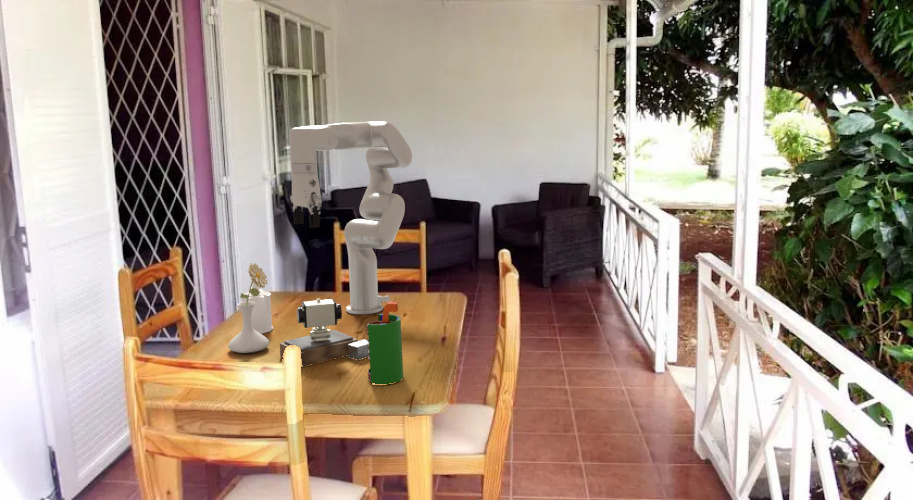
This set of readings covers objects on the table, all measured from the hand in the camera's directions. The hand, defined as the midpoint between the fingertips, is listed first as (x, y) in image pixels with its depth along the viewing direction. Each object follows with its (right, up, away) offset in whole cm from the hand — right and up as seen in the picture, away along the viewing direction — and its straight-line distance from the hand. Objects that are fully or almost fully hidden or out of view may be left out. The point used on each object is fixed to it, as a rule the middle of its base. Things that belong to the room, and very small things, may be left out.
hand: (306, 225), depth 222 cm
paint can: (-17, -33, +7) cm, 38 cm away
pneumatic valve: (+8, -33, -19) cm, 38 cm away
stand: (+7, -37, -17) cm, 41 cm away
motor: (+27, -40, -36) cm, 61 cm away
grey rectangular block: (+19, -37, -19) cm, 46 cm away
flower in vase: (-14, -36, -11) cm, 40 cm away
